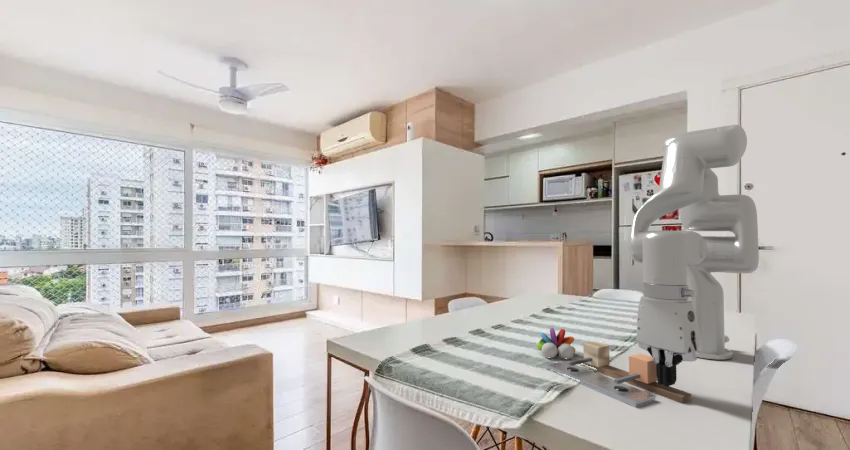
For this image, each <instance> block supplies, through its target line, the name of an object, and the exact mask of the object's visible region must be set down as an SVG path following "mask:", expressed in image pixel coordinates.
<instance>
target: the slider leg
mask: <svg viewBox="0 0 850 450" xmlns="http://www.w3.org/2000/svg"><path fill="white" fill-rule="evenodd" d="M628 372H629V376H625V377H621V378H618V379H616V378H614V380H615V383H616V384H620V383H627V381H631V380H634V379H635V380H638V381H641V382H644V383H646V384H649V383H653V382H658V378H657V373H656V363H655V362H654V361H653V357H652V356H651V355H648V354H644V353H637V354H632V355H629V356H628Z"/></svg>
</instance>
